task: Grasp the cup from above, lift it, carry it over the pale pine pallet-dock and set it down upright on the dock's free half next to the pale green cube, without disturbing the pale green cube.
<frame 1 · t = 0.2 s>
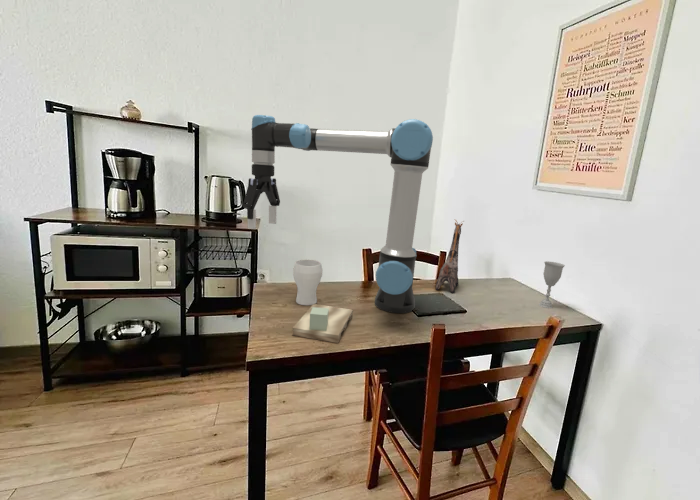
hand: (262, 226, 125), 27 cm above the table, fingers open, 13 cm apart
cup: (306, 302, 132), on the table
toy: (447, 287, 161), on the table
chalice: (545, 306, 146), on the table
pale green cube: (318, 326, 107), point 2 cm above the table, touching dock
dock: (324, 325, 113), on the table
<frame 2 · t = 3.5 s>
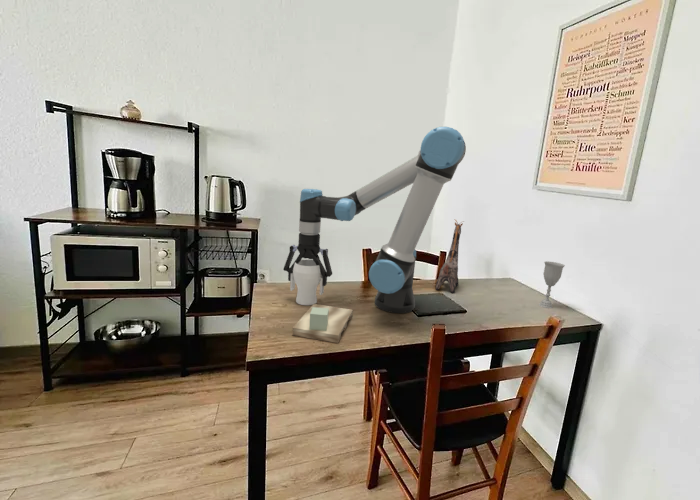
hand: (306, 291, 131), 4 cm above the table, fingers closed on cup, 11 cm apart
cup: (306, 302, 132), on the table, touching gripper
everything else where it was.
when the fingers open (8 cm above the table, at t = 8.6 s): cup drops 1 cm, resting on dock.
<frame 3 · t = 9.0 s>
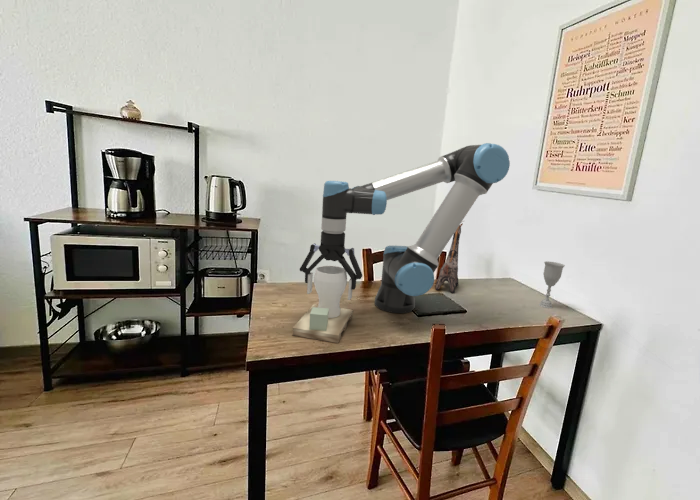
hand: (329, 295, 115), 9 cm above the table, fingers open, 13 cm apart
cup: (328, 313, 117), point 2 cm above the table, touching dock
everything else where it was.
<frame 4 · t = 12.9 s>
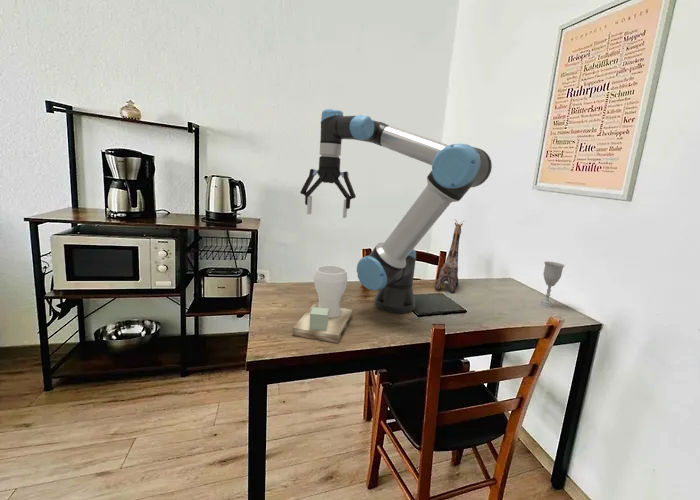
hand: (326, 215, 131), 32 cm above the table, fingers open, 13 cm apart
nothing on the table moved.
at the end: cup inside the target area on the dock (0.3 cm from its centre), point 2.3 cm above the dock's base; cup tilted 0°; pale green cube moved 0.0 cm from its start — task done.
